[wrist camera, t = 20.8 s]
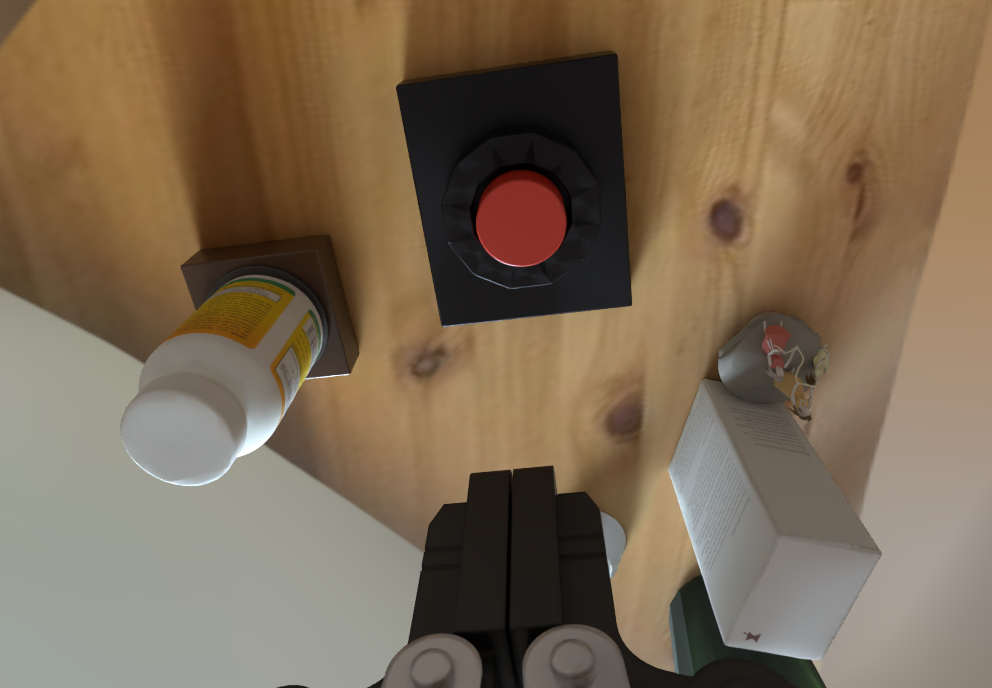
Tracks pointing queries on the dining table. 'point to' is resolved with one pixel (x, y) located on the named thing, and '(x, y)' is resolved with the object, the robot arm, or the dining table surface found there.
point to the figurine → (774, 361)
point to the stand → (294, 263)
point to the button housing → (528, 146)
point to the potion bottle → (704, 644)
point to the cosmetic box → (767, 526)
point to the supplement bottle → (222, 380)
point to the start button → (521, 218)
